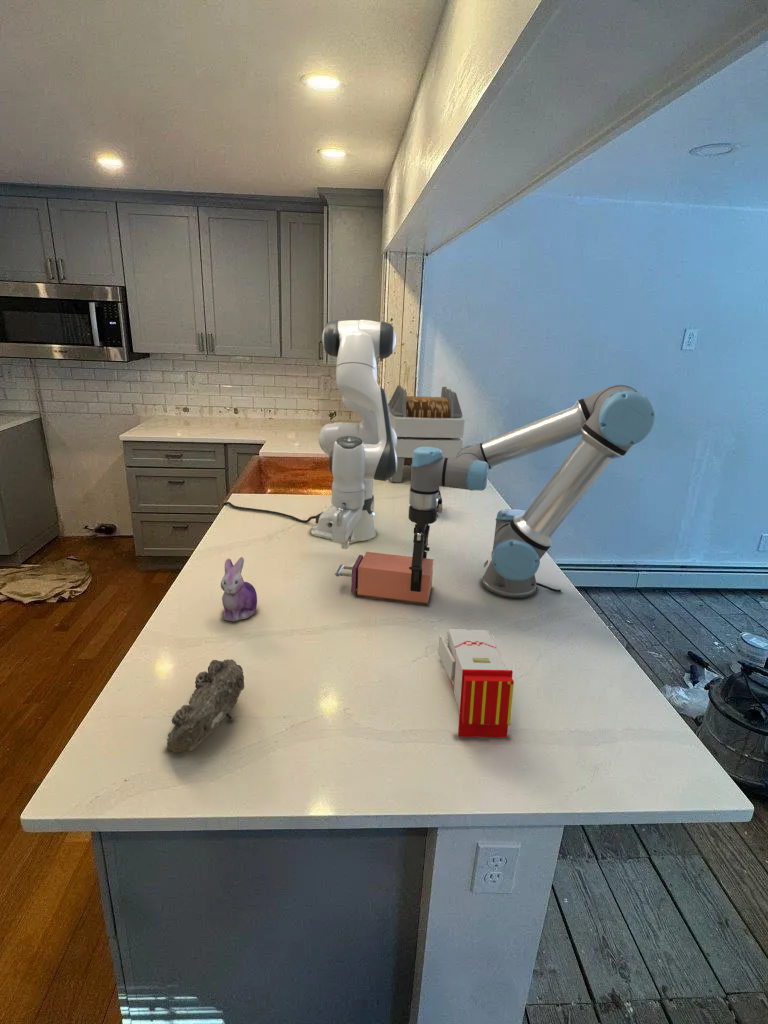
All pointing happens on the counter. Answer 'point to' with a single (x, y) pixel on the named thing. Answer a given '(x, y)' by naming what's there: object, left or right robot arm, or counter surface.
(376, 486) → the counter surface
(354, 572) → the drawer
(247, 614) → the figurine
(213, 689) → the fossil
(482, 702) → the toy
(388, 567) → the cabinet
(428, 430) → the transformer
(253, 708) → the counter surface
